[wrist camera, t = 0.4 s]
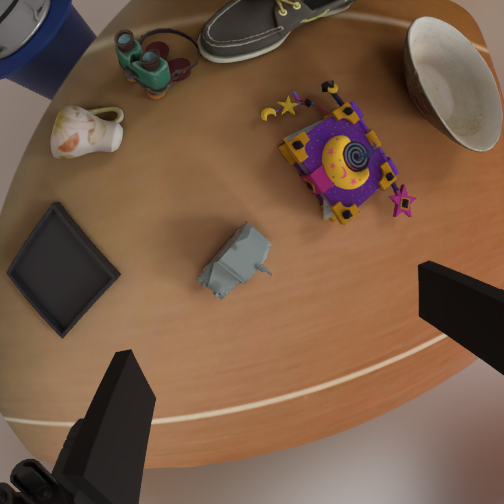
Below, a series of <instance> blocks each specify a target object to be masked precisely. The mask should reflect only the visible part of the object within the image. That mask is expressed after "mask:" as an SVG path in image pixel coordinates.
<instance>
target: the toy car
mask: <svg viewBox="0 0 504 504" xmlns="http://www.w3.org/2000/svg"><path fill="white" fill-rule="evenodd" d="M270 246H271V243H270V242H269V241H268V240H267V239H266V238H265V237H264V236H263V235H261V234H260V233H259V232H258V231H257V230H256V229H255V228H254V227H252V226H251V225H250V224H249V223H248V222H247V221H246V223H245V224H244V225H243V226H241V227H240V228H239V229H238V230H237V231H236V232H235V233H234V235H233V237H232V238H231V239H230V240H228V241H227V243H226V244H225V245H224V246H223V247H222V248H221V249H220V250H219V252H218V253H217V254H216V255H215V256H214V257H213V258H212V260H211V261H210V263H208V264H207V265H206V266H205V267H204V269H203V270H202V272H201V274H200V275H199V276H198V277H197V279H196V280H197V281H198V282H200V283H201V285H202V286H203V287H206V286H207V287H208V288H210V289H211V290H212V291H213V292H214V295H215V296H216V297H219V298H220V299H223V298H225V297H226V296H227V295H228V294H229V292H230V291H231V289H232V288H233V287H234V286H235V285H238V284H240V283H242V284H245V283H246V281H247V280H248V279H249V278H250V277H251V276H252V275H253V274H254V273H255V272H256V270H257V269H259V270H260V271H261V272H267V273H268V274H270V275H272V274H271V273H270V271H269V270H268V269H267V268H266V267H265V266H263V265H262V263H263V262H264V260H265V259H266V257H267V256H268V251H269V248H270Z"/></svg>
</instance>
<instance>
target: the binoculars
mask: <svg viewBox="0 0 504 504" xmlns="http://www.w3.org/2000/svg"><path fill="white" fill-rule="evenodd" d="M157 33H174V34H178V35H181V36H183V37H185V38H187V39H188V40H190V41H192V42H193V44H194V45H195V46H196V47H197V49H198V55H199V56H198V59H197V61H196V62H194V63H193V64H192V65H191V63H190V62H189V61H188V60H187V59H184V58H177V59H174V60H172V61H171V62H170V63H169V64H168V63H167V62H166V60H165V59H166V58H167V56H168V52H169V48H168V46H167V45H166V44H165V43H163V42H159V41H158V42H153V43H151V44H149V45H148V46H147V48H146V50H145V52H144V53H143V51H142V48H141V45H142V43H143V41H144V39H146V38H147V37H148V36H150V35H153V34H157ZM114 41H115V43H116V45H115V48H116V52H117V55H118V58H119V64H120V66H121V68H122V69H123V70H124V75H125V77H126V78H127V79H128V80H129V81H131V82H137V83H138V84H139V85H140V86H141V87H143V88H144V89H146V90H147V93H148V96H149V97H150V98H151V99H153V100H158V99H161V98H162V97H164V96H165V94H166V92H167V90H168V89H169V87H170V86H171V84H172V81H181V80H184V79H186V78H187V77H188V76H189V75H190V74H191V69H192V68H193V67H194V66H196V65H197V64H198V61H199V58H200V50H199V44H198V43H197V42H196V41H195V39H194V38H193V37H191V36H190V35H188V34H186V33H184V32H182V31H179V30H175V29H171V28H161V29H155V30H152V31H149V32H147V33H146V34H145V35H143V36H141V39H140V40H137V41H136V40H135V39H134V36H133V33H132V32H131V31H130V30H121V31H119V32H118V33H117V34H116V35H115V37H114Z"/></svg>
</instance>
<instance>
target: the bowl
mask: <svg viewBox="0 0 504 504" xmlns="http://www.w3.org/2000/svg"><path fill="white" fill-rule="evenodd" d="M404 71H405V80H406V85H407V89H408V92H409V95H410V97H411V99H412V101H413V102H414V104H415V106H416V107H417V109H418V110H419V111H420V112H421V113H422V115H423V116H424V117H425V118H426V119H427V120H428V121H429V122H430V123H431V124H432V125H433V126H435V127H436V128H437V129H438V130H439V131H441V132H442V133H443V134H445V135H446V136H447V137H449V138H450V139H451V140H453V141H455V142H456V143H458V144H459V145H461V146H463V147H465V148H467V149H470V150H473V151H477V152H484V151H488V150H490V149H491V148H492V147H493V146H494V145H495V143H496V142H497V141H498V139H499V136H500V133H501V128H502V106H501V101H500V96H499V93H498V89H497V86H496V83H495V80H494V77H493V75H492V73H491V70H490V69H489V67H488V65H487V63H486V62H485V60H484V59H483V58H482V56H481V55H480V53H479V52H478V50H477V49H476V48H475V47H474V46H473V45H472V43H471V42H470V41H469V40H468V39H467V38H466V37H465V36H463V34H461V33H460V32H459V31H458V30H457V29H455V28H454V27H453V26H451V25H450V24H448V23H445V22H444V21H442V20H439V19H436V18H432V17H420V18H417V19H415V20H414V21H413V22H412V23H411V25H410V26H409V28H408V31H407V34H406V38H405V47H404Z"/></svg>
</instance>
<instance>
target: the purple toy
mask: <svg viewBox="0 0 504 504" xmlns="http://www.w3.org/2000/svg"><path fill="white" fill-rule="evenodd" d="M321 86H322V92H328V91H329V92H330V93H331V95H332V96H333V97H334V99H335V100H336V101H337V103H338V104H339V105H340V107H339V108H338V109H337V108H336V109H335V110H333V111H331V112H330V113H329V114H328V112H327V111H325V110H324V109H323V108H322V107H320V106H318V105H315V104H314V103H311V101H310V100H308V99H306V100H305V101H301V100H300V98H299V96H298V93H296V92H293V91H292V96H293V97H294V98H295V99H296V100H297V101H300V102H305V103H298V104H297V103H291V102H290V99H289V96H288V97H287V99H286V102H277V103H278V104H279V105H281V106H282V107H283V108H281V109H279V110H274V109H272V108H265V109H264V110H263V111H262V113H261V117H262V119H263V120H265V121H267V115H269V114H273V115H275V116H276V112H278V111H280V110H282V109H283V111H282V114H283V113H285V112H287V111H289V112H290V113H291V114H293V115H294V116H295V113H294V110H293V107H295V106H296V105H301V104H303V105H306V106H308V107H309V106H310V105H311V104H312V105H315V106H317V107H320V108H321V109H322V110H323V111H325V112H326V113H327V115H326V116H324V117H323V118H321V119H322V120H320V121H318V122H316V123H314V124H312V125H310V126H308V127H305V128H303V129H301V130H299V131H297V132H295V133H293V134H291V135H289V136H287V137H285V138H283V140H284V141H285V143H284V144H283V145H282V146H280V147H279V148H278V149H279V150H280V151H281V153H282V154H283V155H284V157H285V158H286V159H287V161H288V162H289V163H290V165H293V164H294V165H295V166H296V167H297V169H298V170H299V171H300V173H301V175H300V177H301V178H302V180H303V181H304V183H305V184H306V185H307V188H309V189H310V191H311V192H312V193H315V194H316V195H317V196H318V198H319V199H320V201H321V202H322V204H321V205H320V206H321V207H322V209H323V220H326V219H328V218H329V219H330V220H331V221H332V222H334V221H335V220H338V221H339V223H340V224H342V225H345V224H346V223H347V222H348V221H350V220H351V219H352V218H353V217H354V216H355V215H357V214H358V213H359V212H360V211H359V210H358V208H357V207H358V206H359V205H361V204H362V203H363V202H364V201H365V200H366V199H368V198H369V197H370V196H371V195H372V194H373V193H374V192H376V191H378V189H380V190H385V189H386V188H387V187H389V186H390V185H391V186H392V188H393V190H394V193H395V194H396V195H395V196H389V197H390V199H391V200H392V201H393V202H394V203H395V208H394V214H393V217H396V216H398V215H399V214H400V213H402V212H404V213H405V214H406V215H407V216H408V217H411V210H410V204H411V203H412V202H413V201H414V200H415V199H416V198H415V197H410V196H408V194H407V191H406V188H405V185H401V188H400V190H399V189H398V188H397V186H396V184H395V182H394V181H395V180H396V179H397V178H396V175H397V174H398V171H397V169H396V167H395V165H394V164H393V162H392V160H391V158H390V157H386V156H385V154H384V153H383V151H382V150H381V148H380V146H381V142H380V140H379V139H378V137H377V136H376V134H375V133H374V131H373V129H371V130H369V129H368V128H367V126H366V125H365V123H364V122H363V120H362V119H361V118H362V117H363V116H364V115H363V114H362V112H361V111H360V109H359V108H358V107H357V105H356V104H355V102H354V101H353V102H351V103H349V102H347V103H345V104H344V103H343V101H342V100H341V99H340V97H339V96H338V95H337V93H336V92H337V91H338V86H337V85H336V84H334V81H326V82H324V83H323V84H321ZM282 114H281V115H282ZM379 137H380V136H379ZM386 154H387V153H386Z"/></svg>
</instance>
